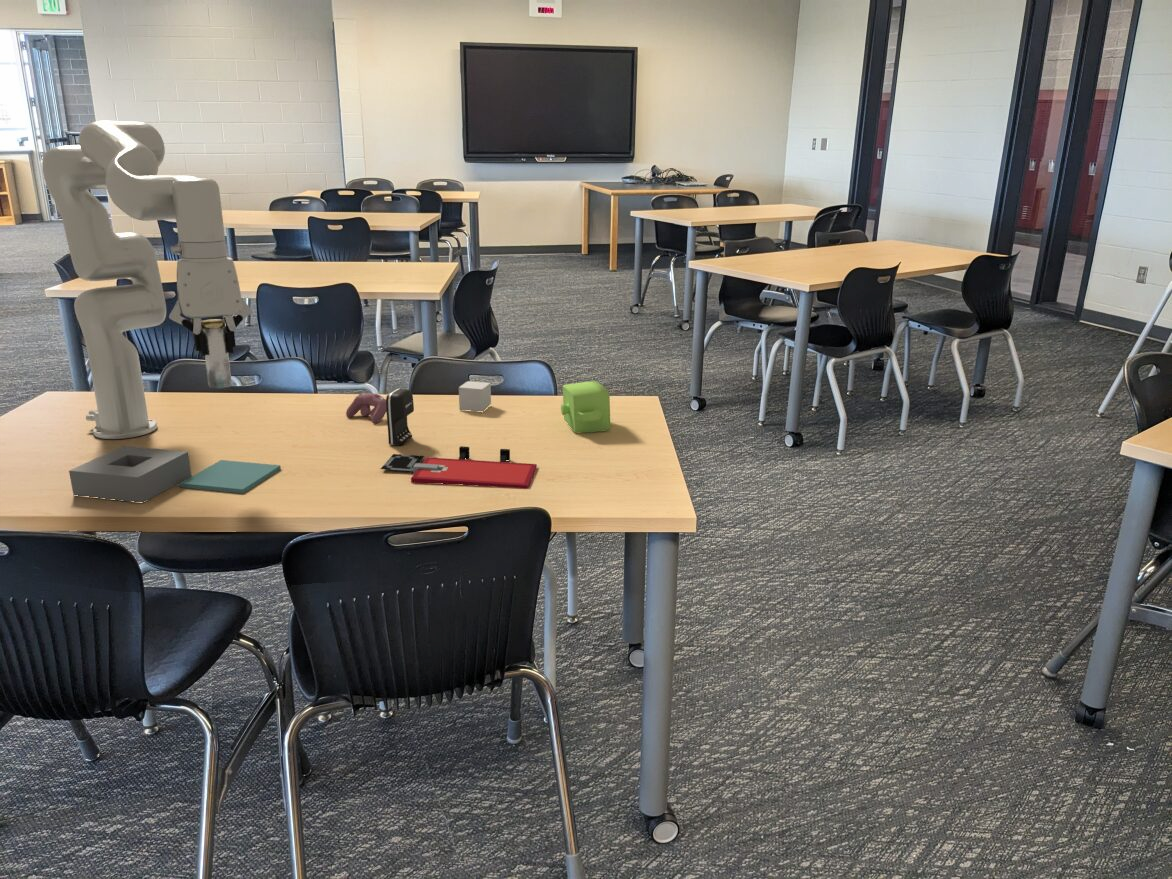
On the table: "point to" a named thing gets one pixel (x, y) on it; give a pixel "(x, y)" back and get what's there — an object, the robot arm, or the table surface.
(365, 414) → the video game controller
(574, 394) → the gearbox
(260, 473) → the mat
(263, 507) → the table surface
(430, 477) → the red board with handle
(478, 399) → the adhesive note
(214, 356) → the peg
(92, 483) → the block
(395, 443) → the battery charger
